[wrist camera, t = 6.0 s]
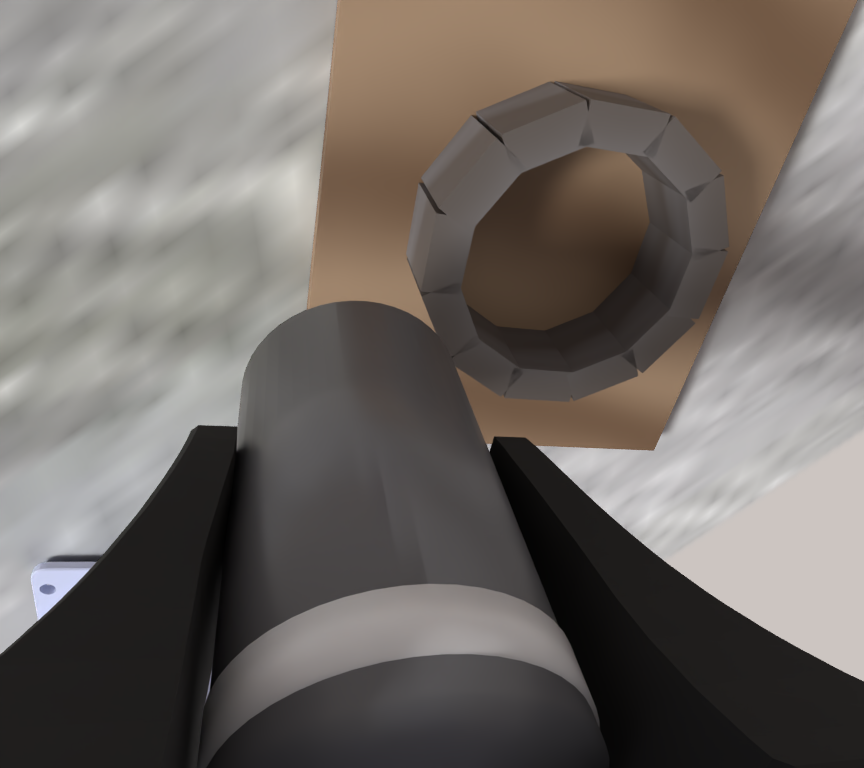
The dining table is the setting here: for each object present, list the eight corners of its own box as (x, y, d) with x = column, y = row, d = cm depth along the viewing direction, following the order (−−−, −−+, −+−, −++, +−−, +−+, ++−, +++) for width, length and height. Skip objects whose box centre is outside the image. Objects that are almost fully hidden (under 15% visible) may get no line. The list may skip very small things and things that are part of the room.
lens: (438, 483, 15) (550, 884, 9) (235, 479, 14) (190, 935, 8) (479, 308, 13) (675, 676, 6) (242, 287, 12) (185, 706, 5)
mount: (641, 434, 25) (687, 496, 22) (295, 417, 22) (297, 487, 19) (837, -17, 18) (944, -10, 15) (352, -144, 14) (368, -167, 12)
